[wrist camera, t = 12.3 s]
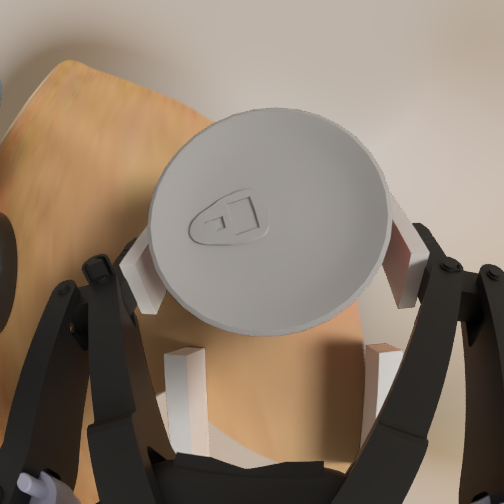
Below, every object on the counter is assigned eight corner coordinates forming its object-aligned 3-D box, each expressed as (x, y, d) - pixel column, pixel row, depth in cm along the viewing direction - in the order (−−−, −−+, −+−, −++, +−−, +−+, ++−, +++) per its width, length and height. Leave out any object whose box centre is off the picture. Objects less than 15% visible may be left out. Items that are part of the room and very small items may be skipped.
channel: (376, 460, 16) (387, 484, 13) (192, 459, 18) (175, 480, 15) (385, 343, 18) (403, 350, 14) (185, 347, 20) (163, 353, 16)
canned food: (204, 247, 21) (114, 189, 10) (301, 183, 20) (297, 73, 10) (264, 344, 19) (220, 388, 8) (367, 275, 19) (440, 238, 8)
